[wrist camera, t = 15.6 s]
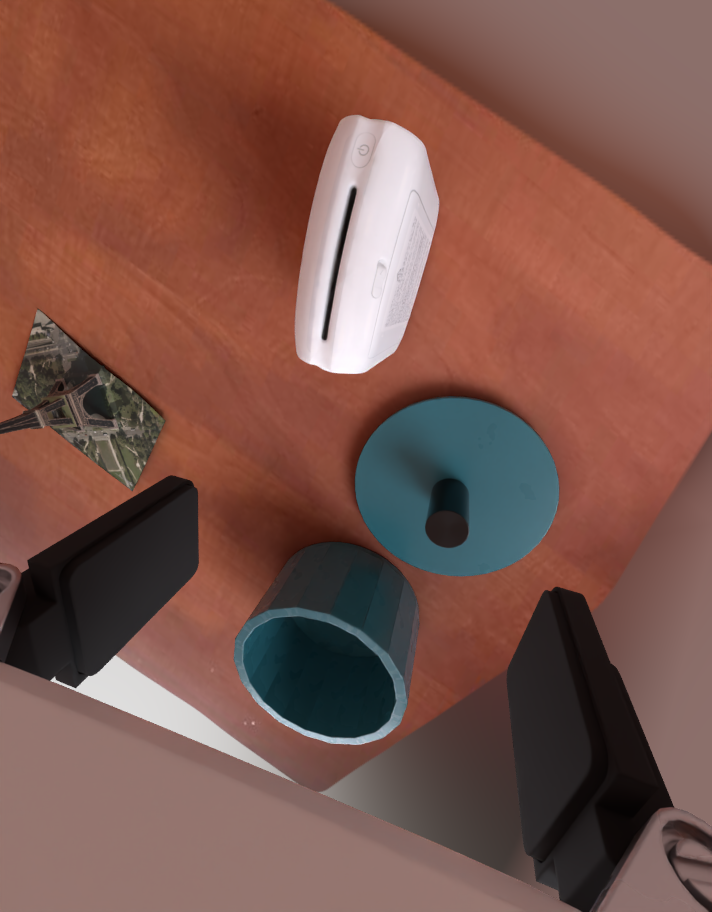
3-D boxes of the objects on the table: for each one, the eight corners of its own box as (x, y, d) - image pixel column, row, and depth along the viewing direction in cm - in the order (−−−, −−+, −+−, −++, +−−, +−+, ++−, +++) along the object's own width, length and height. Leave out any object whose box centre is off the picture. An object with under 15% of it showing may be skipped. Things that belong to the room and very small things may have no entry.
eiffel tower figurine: (15, 395, 39) (-185, 438, 27) (37, 308, 34) (-192, 314, 22) (135, 489, 39) (-10, 573, 27) (172, 416, 35) (18, 478, 23)
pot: (436, 569, 34) (428, 649, 26) (399, 677, 40) (383, 768, 32) (287, 521, 36) (239, 582, 28) (273, 630, 42) (230, 704, 34)
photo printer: (382, 176, 24) (310, 73, 13) (449, 193, 24) (433, 100, 12) (343, 342, 28) (265, 370, 17) (399, 359, 28) (355, 399, 17)
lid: (591, 424, 26) (624, 457, 21) (514, 591, 32) (524, 650, 27) (378, 372, 29) (357, 390, 23) (344, 536, 35) (321, 581, 29)
